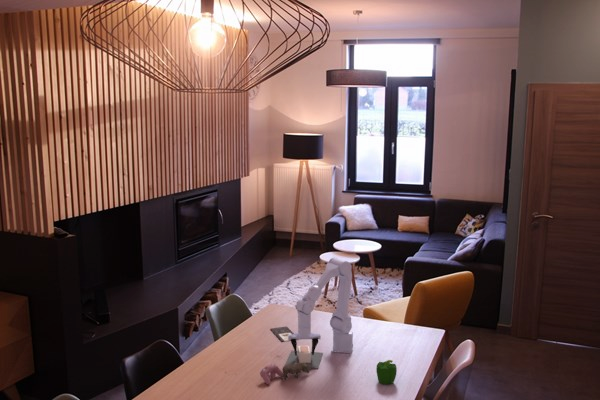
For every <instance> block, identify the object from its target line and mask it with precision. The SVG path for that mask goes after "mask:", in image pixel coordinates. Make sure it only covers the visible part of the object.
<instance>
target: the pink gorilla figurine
mask: <svg viewBox="0 0 600 400" xmlns="http://www.w3.org/2000/svg"><path fill="white" fill-rule="evenodd" d="M259 374H260V378H262V380H263V381H264V382H265V383H266V384H267V385H271V384H272V383H271V379H274V378H276V375H278V377H280V378H281V379H282V378H283V377H282V375H283V374H284V373H283V370H281V369H280V368H279V366H278V365H276V364H268V365H266V366H264V367H263V368H262V369H261V370H260V372H259Z"/></svg>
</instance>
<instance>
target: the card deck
mask: <svg viewBox="0 0 600 400" xmlns="http://www.w3.org/2000/svg"><path fill="white" fill-rule="evenodd" d="M297 351H298V358H299V362H300V363H311V352H312V351H311V348H310V345H297Z"/></svg>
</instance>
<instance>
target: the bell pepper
mask: <svg viewBox="0 0 600 400" xmlns="http://www.w3.org/2000/svg"><path fill="white" fill-rule="evenodd" d="M397 369H398V368H397V364H396V363H393V360H392V359H388V360H386V361H378V363H377V365H376V371H375V372H376V376H377V381H378V384H380V385H384V386H385V385H392V384H393V383H394V382H395V380H396V376H397V373H398V372H397Z"/></svg>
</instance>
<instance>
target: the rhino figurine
mask: <svg viewBox="0 0 600 400" xmlns="http://www.w3.org/2000/svg"><path fill="white" fill-rule="evenodd" d="M284 365H285V364H284ZM284 365H283V366H282V373H283V375H282V378H281V379H282V381H286V380H287V378H288V377H289V376H288V375H295V378H296V379H299V378H300V377H299V376H300V374H301V372H302V371H303V372H304V373H306V374H309V372H310V371H311V370H312V369H311V368H312V367H311V368H310V369H309V367H308V366H309V365H308V366H306V363H305V364H302V363H297V364H294V365H285V366H284ZM307 367H308V368H307Z"/></svg>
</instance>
